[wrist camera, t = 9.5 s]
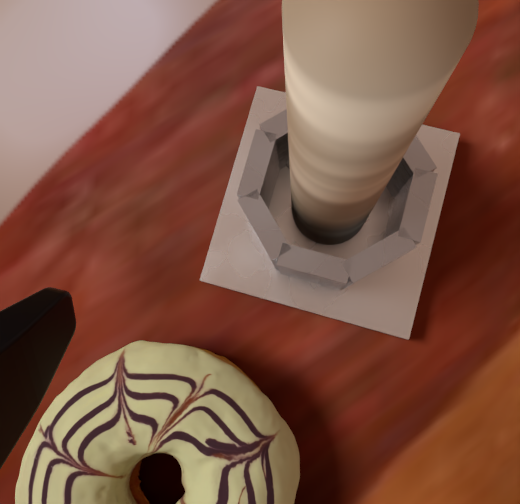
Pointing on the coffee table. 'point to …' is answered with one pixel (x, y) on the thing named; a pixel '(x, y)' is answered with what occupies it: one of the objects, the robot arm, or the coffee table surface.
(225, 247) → the cup bracket
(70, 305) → the robot arm
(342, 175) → the wooden post
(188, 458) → the decorated donut
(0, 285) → the coffee table surface
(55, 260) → the coffee table surface
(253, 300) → the coffee table surface
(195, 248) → the coffee table surface
